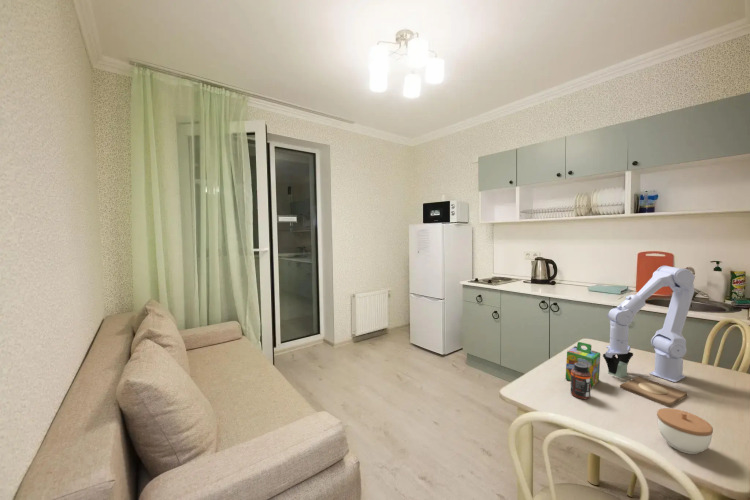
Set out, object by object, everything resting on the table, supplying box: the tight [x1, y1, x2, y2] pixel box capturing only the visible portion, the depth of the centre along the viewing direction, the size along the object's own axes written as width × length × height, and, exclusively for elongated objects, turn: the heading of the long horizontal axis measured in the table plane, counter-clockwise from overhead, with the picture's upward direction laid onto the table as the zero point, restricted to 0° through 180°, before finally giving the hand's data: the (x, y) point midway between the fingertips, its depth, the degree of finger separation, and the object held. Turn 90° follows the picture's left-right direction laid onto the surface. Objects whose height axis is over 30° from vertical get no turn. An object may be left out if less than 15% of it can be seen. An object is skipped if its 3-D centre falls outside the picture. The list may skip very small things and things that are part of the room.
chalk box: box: [565, 341, 601, 389], centre depth 120 cm, size 9×9×15 cm
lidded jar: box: [656, 407, 714, 455], centre depth 84 cm, size 11×11×9 cm
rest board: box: [619, 375, 688, 408], centre depth 111 cm, size 14×14×1 cm
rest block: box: [607, 362, 628, 379], centre depth 124 cm, size 4×4×5 cm
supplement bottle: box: [570, 363, 592, 400], centre depth 110 cm, size 6×6×11 cm
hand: (617, 370), depth 125 cm, fingers open, 7 cm apart
